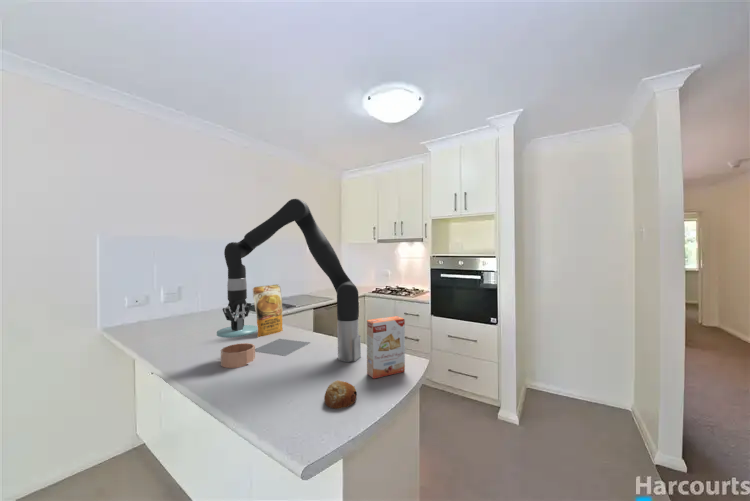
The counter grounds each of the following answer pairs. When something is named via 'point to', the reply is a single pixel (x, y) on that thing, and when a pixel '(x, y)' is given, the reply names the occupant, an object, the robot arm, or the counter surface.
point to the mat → (281, 347)
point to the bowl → (237, 355)
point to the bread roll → (340, 395)
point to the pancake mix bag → (268, 309)
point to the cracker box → (385, 346)
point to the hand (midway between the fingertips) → (237, 328)
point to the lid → (237, 330)
